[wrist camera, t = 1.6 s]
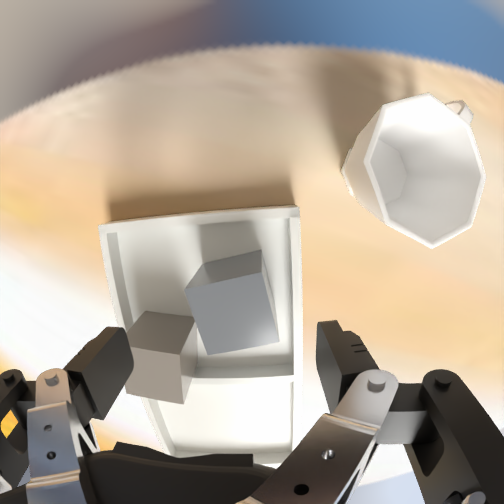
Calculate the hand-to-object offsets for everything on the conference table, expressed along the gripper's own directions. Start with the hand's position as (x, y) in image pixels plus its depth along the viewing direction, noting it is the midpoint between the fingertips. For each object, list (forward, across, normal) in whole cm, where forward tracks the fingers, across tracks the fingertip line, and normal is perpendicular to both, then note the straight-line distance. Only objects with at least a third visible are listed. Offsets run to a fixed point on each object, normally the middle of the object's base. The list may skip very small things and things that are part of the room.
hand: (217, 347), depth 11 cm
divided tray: (+9, +2, +7) cm, 12 cm away
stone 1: (+8, +5, +4) cm, 11 cm away
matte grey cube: (+8, 0, 0) cm, 8 cm away
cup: (+9, -11, -8) cm, 16 cm away
